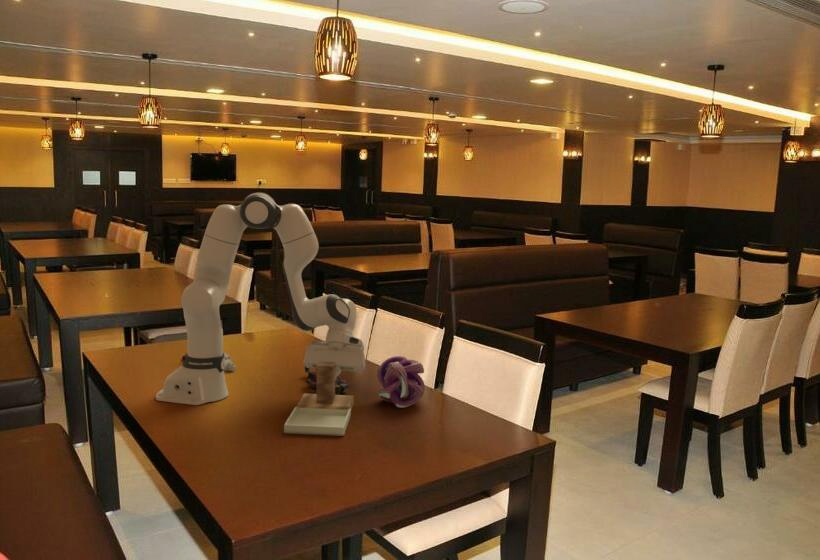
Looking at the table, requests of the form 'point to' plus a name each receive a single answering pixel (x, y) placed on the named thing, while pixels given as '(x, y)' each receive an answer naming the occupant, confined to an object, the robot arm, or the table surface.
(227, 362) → the male figure
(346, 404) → the oak board
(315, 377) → the figurine
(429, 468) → the table surface
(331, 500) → the table surface
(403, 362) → the sculpture
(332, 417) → the tray
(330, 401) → the walnut block
